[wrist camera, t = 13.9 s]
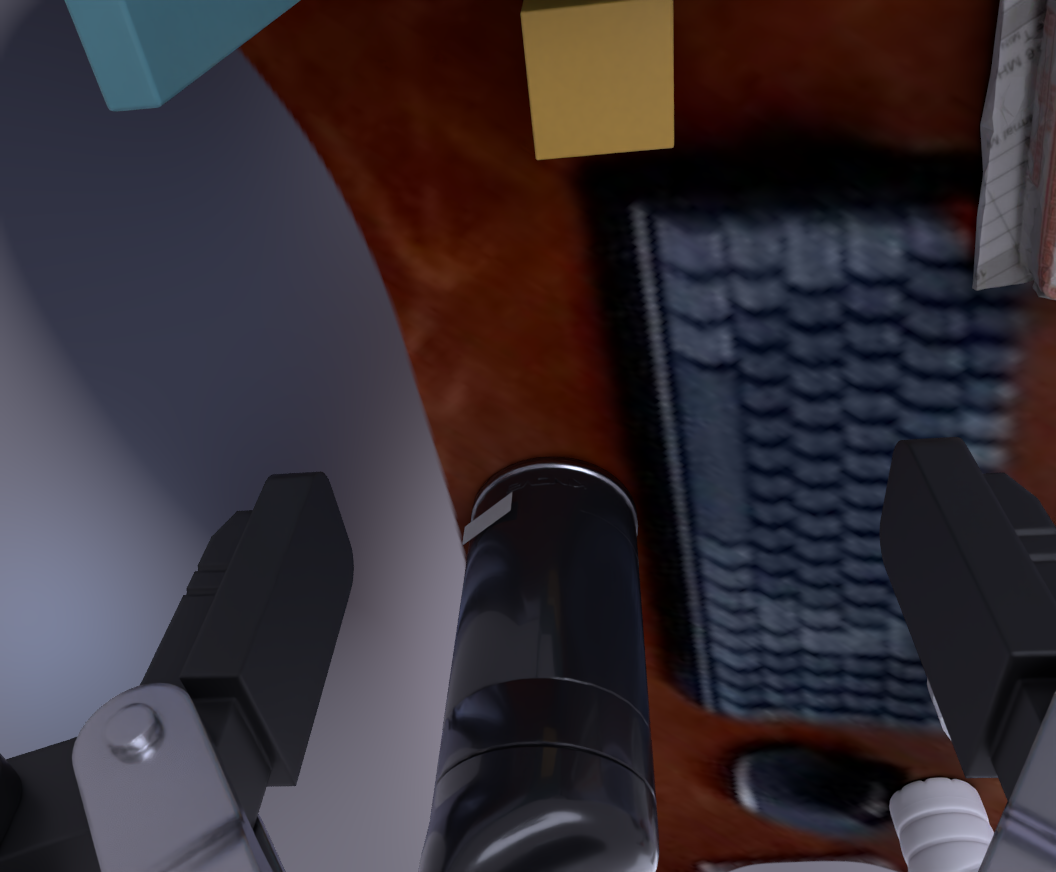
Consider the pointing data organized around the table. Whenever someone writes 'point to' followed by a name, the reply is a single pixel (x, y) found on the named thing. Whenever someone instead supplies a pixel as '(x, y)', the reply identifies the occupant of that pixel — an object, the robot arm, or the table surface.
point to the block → (599, 75)
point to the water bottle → (941, 825)
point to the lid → (163, 42)
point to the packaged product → (1019, 153)
